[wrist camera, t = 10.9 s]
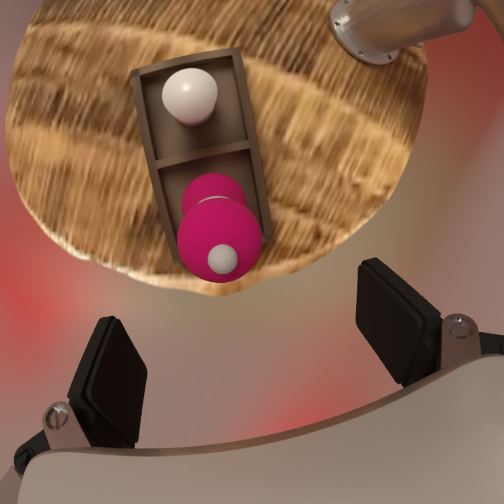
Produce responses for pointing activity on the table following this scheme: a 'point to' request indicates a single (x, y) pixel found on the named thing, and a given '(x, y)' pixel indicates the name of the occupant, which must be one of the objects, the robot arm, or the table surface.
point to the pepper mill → (217, 229)
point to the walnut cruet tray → (200, 138)
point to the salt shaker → (190, 96)
